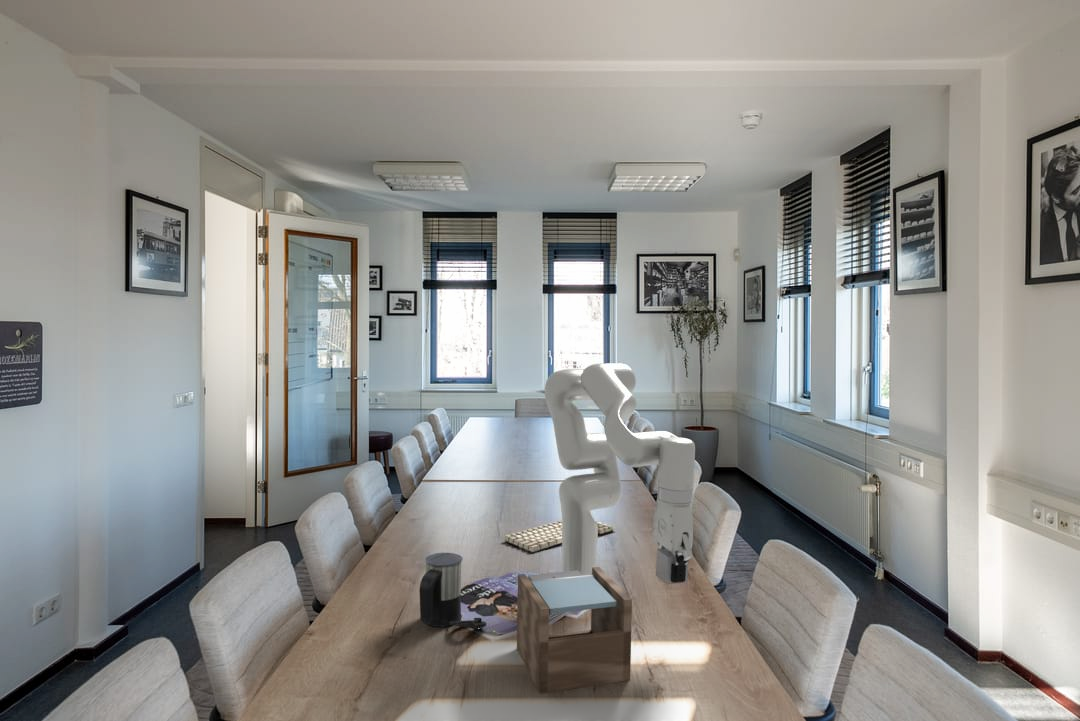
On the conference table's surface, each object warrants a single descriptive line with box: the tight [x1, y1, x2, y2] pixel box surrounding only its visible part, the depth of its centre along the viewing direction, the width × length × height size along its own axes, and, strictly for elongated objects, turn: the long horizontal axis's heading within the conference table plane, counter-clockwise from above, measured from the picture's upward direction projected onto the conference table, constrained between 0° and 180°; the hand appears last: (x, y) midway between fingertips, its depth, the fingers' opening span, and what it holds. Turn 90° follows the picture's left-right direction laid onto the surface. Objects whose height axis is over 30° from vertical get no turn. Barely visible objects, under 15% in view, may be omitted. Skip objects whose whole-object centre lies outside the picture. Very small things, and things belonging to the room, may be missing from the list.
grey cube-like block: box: [655, 548, 689, 585], centre depth 138 cm, size 5×5×6 cm
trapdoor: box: [527, 570, 616, 615], centre depth 135 cm, size 20×15×6 cm
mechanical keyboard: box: [504, 519, 616, 554], centre depth 215 cm, size 38×19×3 cm, turn 133°
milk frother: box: [419, 552, 487, 630], centre depth 149 cm, size 14×16×15 cm
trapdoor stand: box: [516, 566, 633, 694], centre depth 132 cm, size 18×19×16 cm
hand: (671, 575), depth 138 cm, fingers closed on grey cube-like block, 5 cm apart
